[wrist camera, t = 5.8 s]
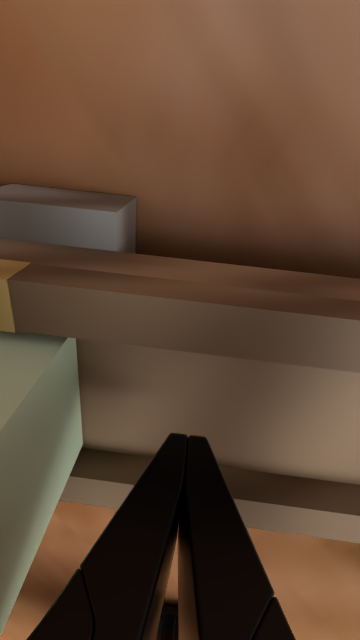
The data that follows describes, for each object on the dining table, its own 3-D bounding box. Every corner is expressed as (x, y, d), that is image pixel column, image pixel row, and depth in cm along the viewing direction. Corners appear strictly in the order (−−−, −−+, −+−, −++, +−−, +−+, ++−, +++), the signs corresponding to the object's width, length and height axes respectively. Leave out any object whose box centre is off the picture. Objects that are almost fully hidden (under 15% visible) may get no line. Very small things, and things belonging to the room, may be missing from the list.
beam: (533, 238, 10) (812, 329, 6) (411, 448, 15) (508, 602, 10) (-343, 146, 11) (-754, 154, 7) (-217, 367, 16) (-409, 470, 11)
